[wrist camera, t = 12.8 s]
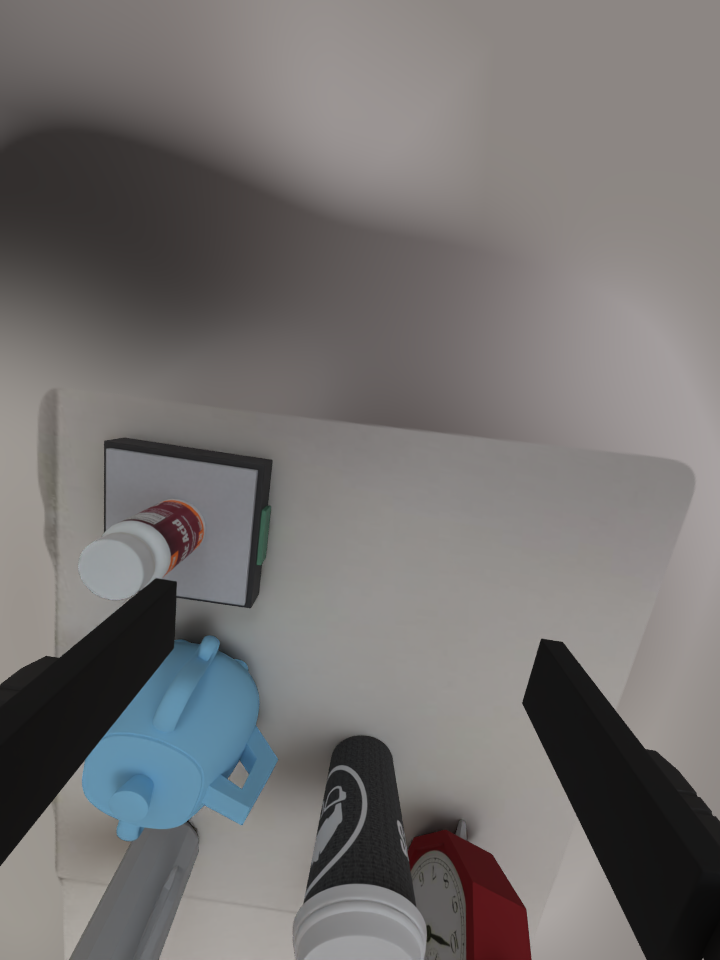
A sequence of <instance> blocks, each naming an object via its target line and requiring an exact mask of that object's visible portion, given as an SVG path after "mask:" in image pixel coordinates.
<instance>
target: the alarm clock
mask: <svg viewBox="0 0 720 960" xmlns="http://www.w3.org/2000/svg"><path fill="white" fill-rule="evenodd" d="M407 852H408V858H409V864H410V871H411V877H412V883H413V889H414V895H415V901H416V906H417V909H418V910H419V912H420V913H421V915H422V917H423V919H424V921H425V924H426V929H427V940H426V951H425V956H424V960H531V950H530V940H529V930H528V921H527V911H526V908H525V906H524V905H523V903H522V901H521V900H520V898H519V897H518V895H517V893H516V892H515V890H514V889H513V887H512V885H511V884H510V882H509V881H508V879H507V877H506V876H505V874H504V873H503V871H502V869H501V868H500V866H499V865H498V863H497V861H496V860H495V858H494V856H493V855H492V854H491V853H489V852H487V851H485V850H483V849H481V848H479V847H478V846H476V845H474V844H472V843H470V842H468V841H467V835H466V822H465V821H464V820H459V824H458V827H457V831H456V834H453V833H451V832H449V831H448V830H442V831H438V832H434V833H430V834H426V835H422V836H418V837H414V838H413V841H412V843H411V845H410V847H409V849H408V851H407Z"/></svg>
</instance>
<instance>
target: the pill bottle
mask: <svg viewBox="0 0 720 960" xmlns="http://www.w3.org/2000/svg"><path fill="white" fill-rule="evenodd" d="M205 532H206V526H205V521H204V518H203V516H202V515H201V513H200V511H199V510H198V509H197V508H196V507H195V506H193V505H192V504H190V503H188V502H186V501H183V500H179V499H169V500H165V501H162V502H160V503H158V504H156V505H154V506H152V507H150V508H148V509H146V510H143V511H142V512H140V513H137V514H135V515H133V516H131V517H129V518H127V519H125V520H123V521H120V522H118V523H116V524H114V525H112V526H111V527H110V528H109V529H107V530H106V531H105V533H104V534H103V535H102V537H101V538H100V539H98V540H96V541H94V542H92V543H91V544H89V545H88V546H87V547H86V548H85V549H84V550H83V551H82V553H81V555H80V558H79V562H78V569H79V574H80V577H81V579H82V581H83V583H84V584H85V585H86V587H87V588H88V589H89V590H90V591H92V592H93V593H94V594H96V595H98V596H99V597H102V598H105V599H108V600H122V599H126V598H129V597H131V596H132V595H134V594H135V593H137V592H138V591H139V590H141V589H142V588H143V587H146V586H147V585H148V584H149V583H151V582H152V581H153V580H154V579H155V578H159V579H162V578H163V577H164V576H165V575H166V574H167V573H169V572H170V571H171V570H172V569H173V568H174V567H176V566H177V565H178V564H179V563H180V562H181V561H183V560H184V559H185V558H186V557H187V556H189V554H191V553H192V552H193V551H194V550H195V549H196V548H197V547H198V546H199V545H200V544H201V543H202V541H203V539H204V537H205Z"/></svg>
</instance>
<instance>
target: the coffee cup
mask: <svg viewBox="0 0 720 960" xmlns="http://www.w3.org/2000/svg"><path fill="white" fill-rule="evenodd" d="M426 940H427V929H426V924H425V921H424V919H423V917H422V915H421V913H420V912H419V910H418V909H417V906H416V901H415V895H414V889H413V883H412V877H411V871H410V864H409V858H408V852H407V846H406V840H405V834H404V827H403V821H402V815H401V809H400V802H399V796H398V790H397V783H396V777H395V771H394V765H393V758H392V755H391V752H390V750H389V749H388V747H387V746H386V745H385V744H384V743H382V742H381V741H379V740H377V739H375V738H372V737H369V736H354V737H350V738H348V739H345V740H344V741H342V742H341V743H339V744H338V745H337V746H336V748H335V749H334V751H333V753H332V757H331V762H330V767H329V772H328V778H327V783H326V788H325V794H324V799H323V804H322V810H321V815H320V820H319V826H318V831H317V836H316V842H315V847H314V852H313V857H312V863H311V868H310V873H309V878H308V883H307V888H306V893H305V899H304V904H303V905H302V907H301V908H300V909H299V911H298V912H297V914H296V917H295V919H294V923H293V947H294V953H295V958H296V960H424V956H425V951H426Z"/></svg>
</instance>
